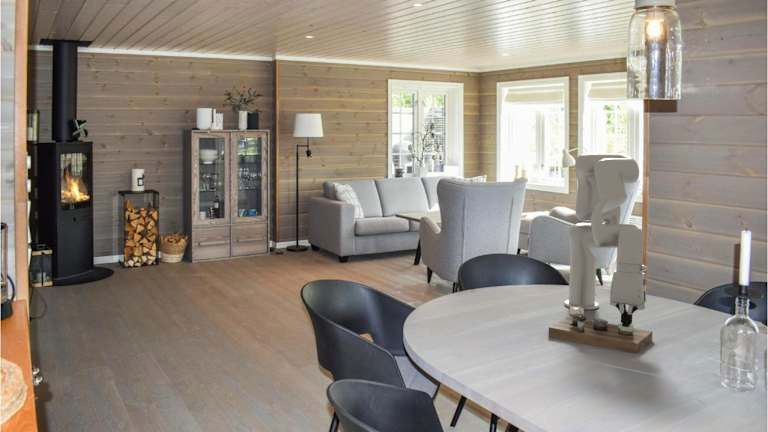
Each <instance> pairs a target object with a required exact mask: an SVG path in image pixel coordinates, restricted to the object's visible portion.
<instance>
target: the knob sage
mask: <svg viewBox="0 0 768 432" xmlns="http://www.w3.org/2000/svg"><path fill="white" fill-rule="evenodd" d="M618 325H619V326H618V333H619V334H621V335H626V336H630V335H633V328H634V325H633V324H630V326H628V327H626V326H622V323H619V324H618Z"/></svg>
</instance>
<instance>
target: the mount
mask: <svg viewBox="0 0 768 432" xmlns="http://www.w3.org/2000/svg"><path fill="white" fill-rule="evenodd" d="M572 319H573V317H571V316H566V317H565V318H563V319H561V320H559V321H557V322H555V323H554V324H552V325H550V326H549V327H548V337H551V338H556V339H561V340H566V341H571V342H575V343H582V344H586V345H592V346H596V347H602V348H606V349H612V350H618V351H623V352H627V353H628V352H629V353H634V354H638V353H639V352H640V351H642V349H644V348H645V347H647V346H648V345H649V344H650V343H651V342H652V341H653V333H654V332H653V331H652V330H647V329H641V328H635V327H633V335H630V336H626V335H621V334H619V333H618V326H619V324H612V323H608V329H607V330H605V331H598V330H595V329H593V320H590V319H587V320H586V321H584V332H583V333H580V332H577V329H578V325H573V324H572Z"/></svg>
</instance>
